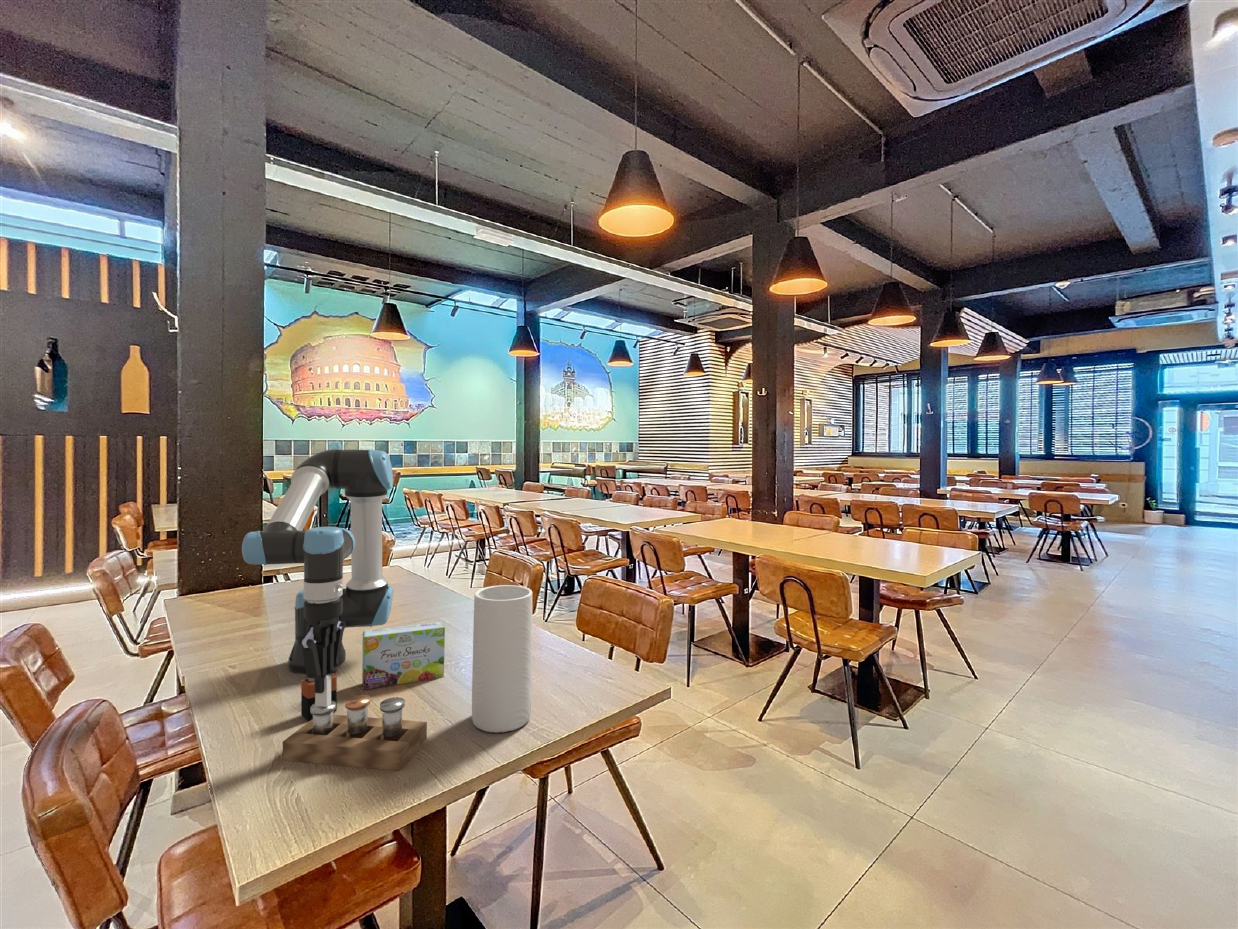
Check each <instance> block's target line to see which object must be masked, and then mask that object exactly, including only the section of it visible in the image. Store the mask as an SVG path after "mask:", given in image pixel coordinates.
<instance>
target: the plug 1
mask: <svg viewBox="0 0 1238 929" xmlns="http://www.w3.org/2000/svg"><path fill="white" fill-rule="evenodd" d="M335 709H336V702H335V701H332V700H331V704H330V705H329V706H327V707H321V706H315V704H313V705H312V706H311V707H310V713H311V714H312V715H313V734H315V735H328V734H329V733H330V732H332V731H333V730H334V715H335V714H334V713H335V712H334V710H335Z"/></svg>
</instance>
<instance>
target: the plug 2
mask: <svg viewBox="0 0 1238 929" xmlns="http://www.w3.org/2000/svg"><path fill="white" fill-rule="evenodd" d="M405 706H406V700H405V699H404V698H403V697H397V696H394V697H389V698H386V699H384V700H383V701H381V702H380V703H379V710H380V711H381V712H382V714H381V718H382V735H383V736H385V737H393V736H397V735H399V734H400V733H401V732H402V720H403V709H404V707H405Z"/></svg>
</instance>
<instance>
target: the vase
mask: <svg viewBox="0 0 1238 929" xmlns="http://www.w3.org/2000/svg"><path fill="white" fill-rule="evenodd" d="M473 595H474V596H473V599H474V601H473V631H472V632H473V634H472V636H473V637H472V638H473V640H472V673H471V674H472V677H471V721H472V723H473V725H474V726H475V727H476V728H478V729H480V730H482V731H484V732H487V733H493V732H494V734H497V733H498V732H499V733H498V734H501V733H500V732H502V733H508V731H509V732H511V731H515V730H517V729H520V728H521V727H523V726H525V725H526V724H527V723H528V722H529V721H530V719H531V715H532V699H533V698H532V696H533V694H532V693H533V591H532V589H531V588H529V587H527V586H523V585H513V584H504V585H503V584H500V585H492V586H491V585H490V586H486V587H483V588H480V589H478V590H476V591H475V592H474V594H473Z"/></svg>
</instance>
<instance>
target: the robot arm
mask: <svg viewBox="0 0 1238 929" xmlns="http://www.w3.org/2000/svg"><path fill="white" fill-rule="evenodd" d="M290 477H291V478H290V485H289V487H288V489H287V491H286V492H285V494H284V495H283V497H282V499H281V501H280V503H279V504H278V506H277V508H276V509H275V511H274V512H273V514H272V515H271V518H270V520H269V521H268V523H267V524H266V525H265V527H264V529H263V530H257V531H249V532H247V533H246V534H245V535H244V537H243V540H242V544H241V554H242V558H243V561H244V562H245V563H247V564H248V565H263V566H266V565H287V564H292V565H293V564H303V589H301V590H300V591H299V592H298V593H297V594H296V595H295V602H294V603H295V605H294V625H295V626H294V635H295V636H294V639H295V640H294V644H293V646H292V648H291V652H290V654H289V656H288V661H287V665H288V666H287V668H288V670H289V671H290V672H293V673H298V674H299V673H300V674H306V678H311V679H315V706H321V707H327V706H329V705H330V704H331V685H332V682H331V681H332V680H331V679H332V674H334V675H335V674H337V672H338V669H335V668H338V667H339V666H341V665H342V664H343V663H344V662H345V661H346V657H347V656H346V649H345V647H344V644H343V635H344V631H345V628H348V629H349V628H364V627H371V628H372V627H375V626H384V625H386V623H387V622H388V620H389V618H390V615H391V611H392V610H391V609H392V605H393V598H394V586H390V585H389V583H388V582H389V580H388V579H387V578H386V577H384V575H383V500H384V498H386V497H387V495H388V490H391V489H392V488H393V487H394V479H393V478H394V473H393V467H392V462H391V459H390V456H389V454H388V453H387V452H386V451H384V450H377V449H335V448H334V449H333V448H332V449H326V450H323V451H320V452H318V453H315V454H313V455H311V456H309V457H307V459H305V460H304V461H302V462H301V463H300V464H298V465H297V467H296V468H295V470H294V471H293V473H292V474H291V476H290ZM328 490H344V497H346V498H347V500H349V501H350V530H348V529H347V528H344V527H338V526H318V527H312V528H308V529H307V530H304V529H305V526H306V524H307V522H308V520H309V518H310V516H311V514H312V512H313V511H314V508H315V506H316V505H317V503H318V500H319V499H320V497H321V496H322V495H323V494H325V493H326V492H327V491H328ZM349 557H351V558H350V562H351V564H350V566H351V568H350V569H351V570H350V571H351V578H350V580H348V581H347V582H346V583H345V588H343V587H344V585H343V582H344V581H343V577H344V575H343V574H344V570H343V569H344V560H346V559H347V558H349Z"/></svg>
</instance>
